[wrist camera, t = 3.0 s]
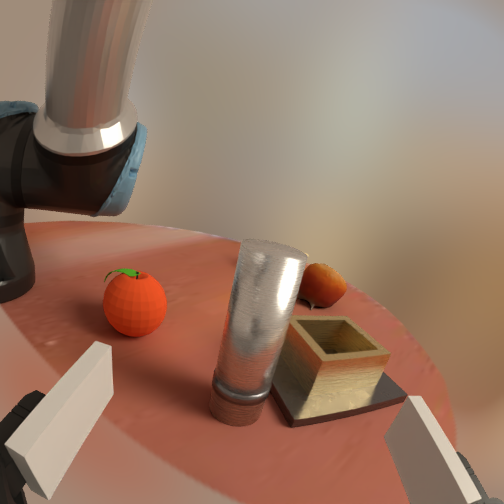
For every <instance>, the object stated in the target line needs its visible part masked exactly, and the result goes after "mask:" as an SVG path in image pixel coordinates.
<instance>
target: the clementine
mask: <svg viewBox="0 0 504 504" xmlns="http://www.w3.org/2000/svg"><path fill="white" fill-rule="evenodd" d="M115 271H117V272H122V274H120V275H118V276H116V277H115V278H114V279H113V280H112V281H111V282H110V283H109V284H108V286H107V288H106V290H105V293H104V299H103V308H104V312H105V315H106V317H107V319H108V322H109V323H110V324H111V325H112V326H113V327H114V328H115V329H116V330H117V331H119V332H120V333H123V334H125V335H127V336H132V337H139V336H144V335H147V334H150V333H151V332H153V331H154V330H155V329H157V328H158V327H159V326H160V324H161V323H162V321H163V319H164V317H165V313H166V309H167V300H166V296H165V293H164V290H163V288H162V287H161V285H160V284H159V282H158V281H157V280H156V279H154V278H153V277H152V276H151V275H149V274H147V273H145V272H141V271H135V270H132V269H118V270H115ZM115 271H112V272H115ZM112 272H110V273H108V275H109V274H111V273H112ZM108 275H107V276H106V278H107V277H108ZM106 278H105V280H106ZM104 282H105V281H104Z"/></svg>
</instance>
